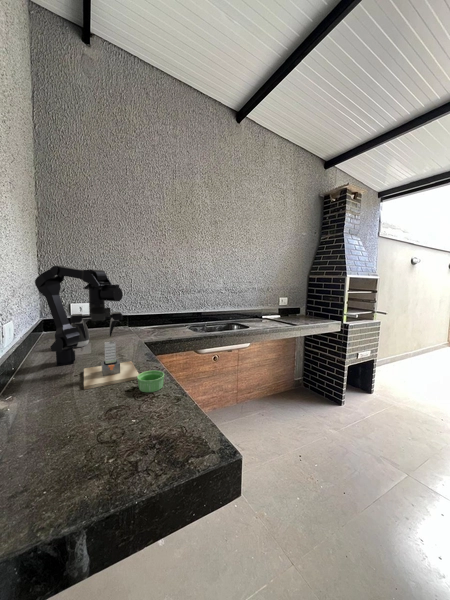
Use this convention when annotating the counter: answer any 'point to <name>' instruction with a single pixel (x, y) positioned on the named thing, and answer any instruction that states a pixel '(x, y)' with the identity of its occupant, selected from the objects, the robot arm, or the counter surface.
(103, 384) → the base
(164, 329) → the counter surface
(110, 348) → the steel post
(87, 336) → the pump dispenser
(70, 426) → the counter surface
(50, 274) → the robot arm
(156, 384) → the ramekin
